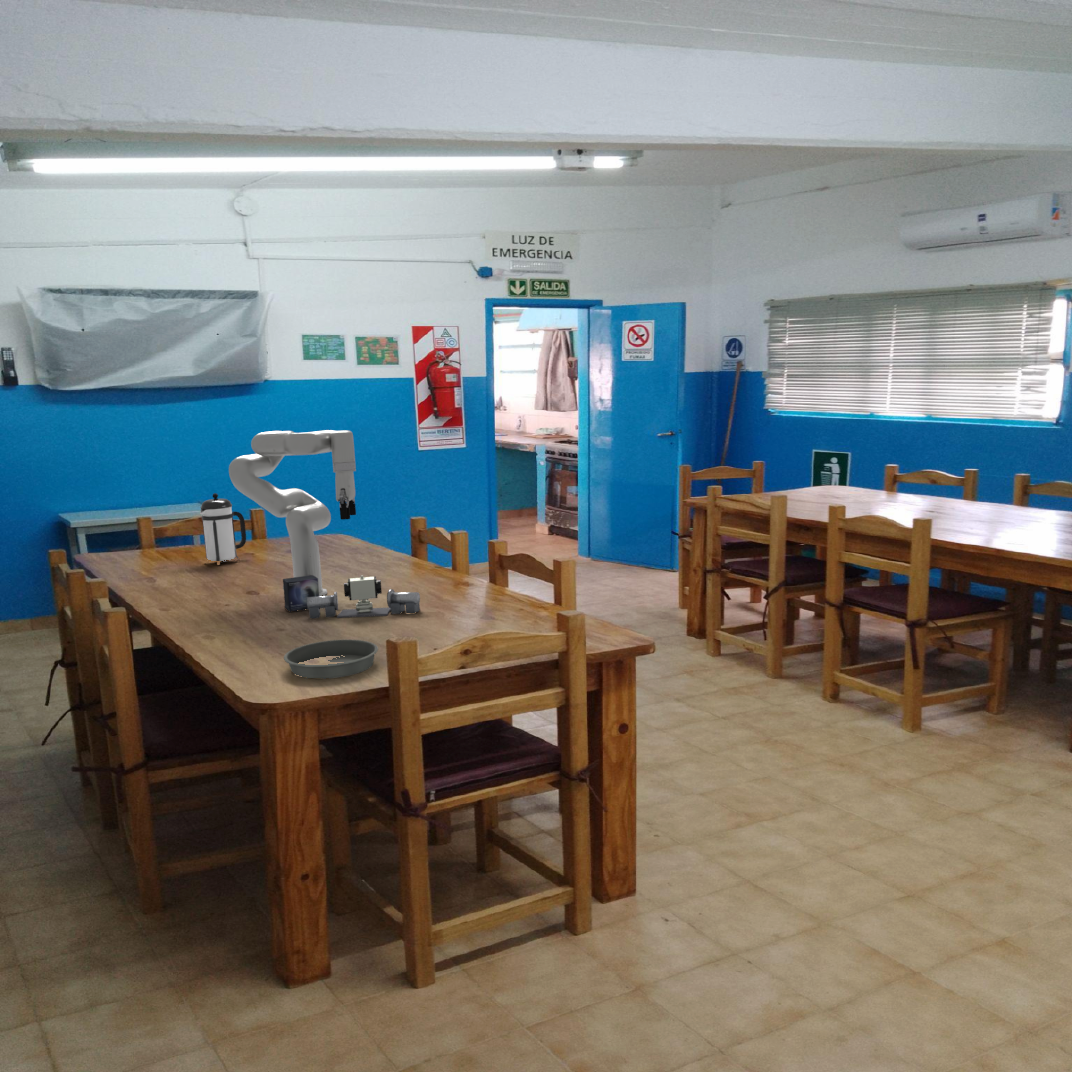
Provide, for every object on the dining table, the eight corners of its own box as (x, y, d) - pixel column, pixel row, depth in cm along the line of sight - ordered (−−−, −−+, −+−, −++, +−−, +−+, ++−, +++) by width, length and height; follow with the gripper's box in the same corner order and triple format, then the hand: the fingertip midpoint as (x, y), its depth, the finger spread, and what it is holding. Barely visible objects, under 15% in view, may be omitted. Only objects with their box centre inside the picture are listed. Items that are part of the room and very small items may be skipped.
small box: (289, 613, 339) (286, 581, 338) (284, 609, 345) (281, 578, 343) (321, 608, 344) (318, 577, 342) (315, 604, 350) (312, 574, 348)
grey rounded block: (388, 614, 330) (386, 591, 328) (394, 610, 335) (392, 587, 334) (416, 614, 328) (414, 591, 327) (421, 609, 334) (420, 587, 332)
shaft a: (308, 619, 329) (306, 596, 328) (309, 614, 335) (307, 592, 334) (338, 616, 330) (336, 593, 329) (338, 612, 336) (336, 589, 335)
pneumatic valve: (383, 611, 331) (380, 575, 329) (346, 615, 329) (343, 578, 327) (382, 608, 336) (380, 572, 334) (346, 611, 335) (343, 575, 333)
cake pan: (268, 681, 264) (267, 664, 264) (308, 654, 288) (307, 638, 287) (359, 682, 259) (357, 665, 258) (392, 655, 283) (391, 639, 282)
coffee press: (236, 565, 432) (229, 494, 427) (199, 567, 433) (191, 496, 428) (248, 557, 449) (242, 489, 444) (212, 559, 450) (205, 491, 445)
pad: (337, 617, 329) (337, 616, 329) (343, 611, 338) (343, 609, 337) (386, 615, 328) (386, 613, 328) (391, 609, 337) (391, 607, 337)
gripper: (338, 465, 358) (342, 514, 361) (327, 470, 341) (331, 521, 344) (360, 464, 358) (364, 513, 361) (350, 469, 341) (354, 520, 344)
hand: (348, 517), depth 352 cm, fingers open, 9 cm apart
